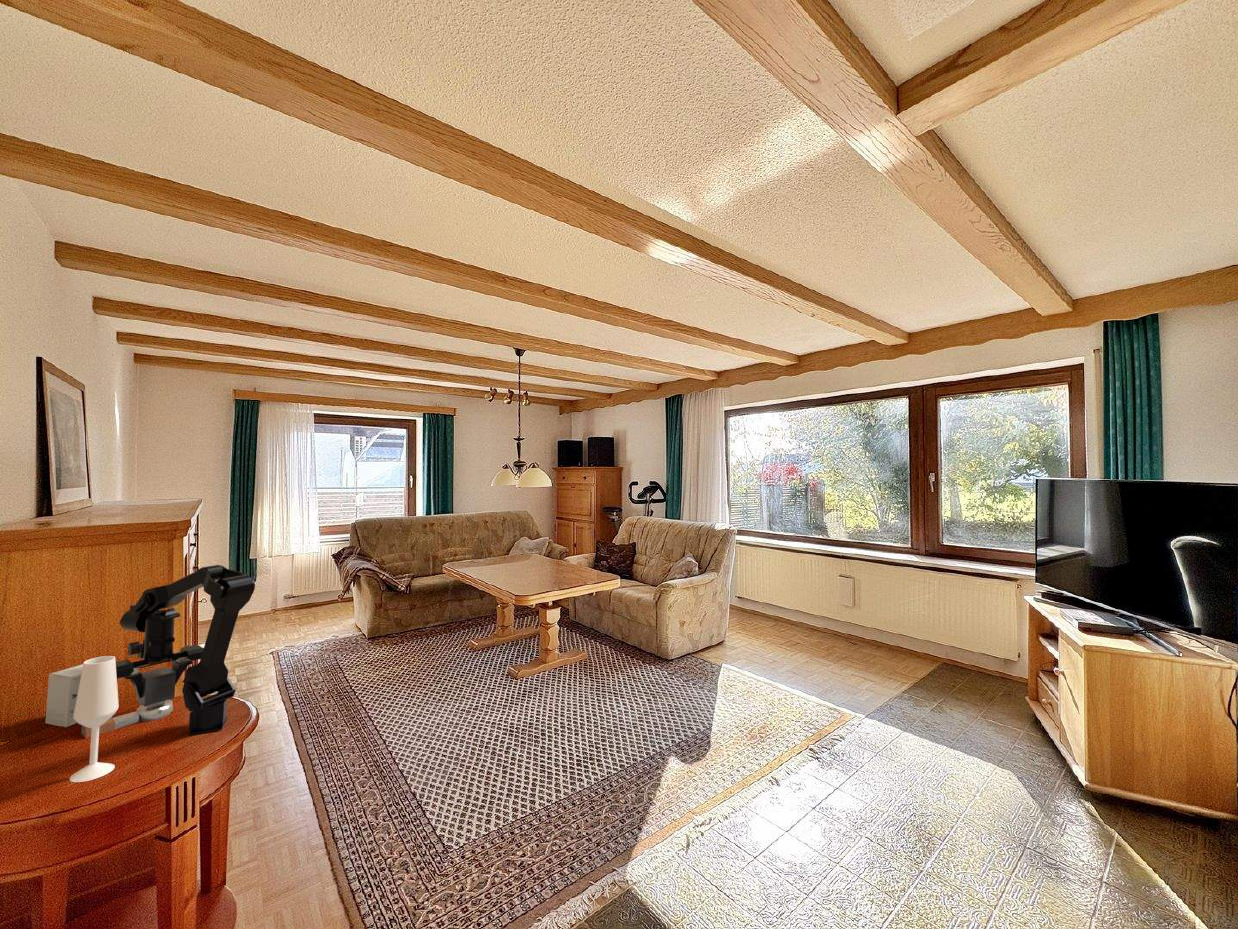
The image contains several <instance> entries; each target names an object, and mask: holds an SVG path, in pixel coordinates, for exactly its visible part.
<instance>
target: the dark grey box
mask: <svg viewBox="0 0 1238 929" xmlns="http://www.w3.org/2000/svg"><path fill="white" fill-rule="evenodd" d="M140 673H141V674H142V697H141V698H138V696H137V695H136V701H137V702H138V703H139V704H141V705H143V706H148V705H152V704H155V703H159V702H162V701H166V700H172V699H176V698H175V695H176V694H175V693H176V685H175V681H176V671H174V670H173V669H172V667H170V666H163V667H159V668H155V669H151V670H147V671H146V670H145V671H142V672H140Z"/></svg>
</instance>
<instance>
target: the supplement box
mask: <svg viewBox="0 0 1238 929" xmlns="http://www.w3.org/2000/svg"><path fill="white" fill-rule="evenodd" d="M82 669H83V663H82V664H79V665H76V666H72V667H70V668H69V667H68V668H66V669H65V668H64V669H61V670H58V671H54V672H51V673H49V674H48V684H47V685H48V686H47V697H46V710H45V712H46V713H45V724H48V725H52V726H57V727H62V726H63V728H68V727H70V726H73V725H75V724H78V723H77V722H76V721H75V719H74V717H73V716H74V710H75V705H76V700H77V695H78V690H79V684H80V679H81V674H82Z"/></svg>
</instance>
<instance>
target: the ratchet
mask: <svg viewBox="0 0 1238 929" xmlns="http://www.w3.org/2000/svg"><path fill="white" fill-rule="evenodd" d="M173 703H174V702H173V700H172V699H169V700H166V701H162V702H159V703H155V704H152V705H148V706H143V705H142V704H141V705H139V706H138V707H137V708H136V711H133V712H129V713H124V714H121V715H118V716H114V717H113V716H112V717H111V718H110V719H109V720H107V721H106V722H105V723H104V724H103V725H101V726H99V735H101V734H105V733H108V732H111V731H115V730H118V729H120V728H123V727H128V726H130V725H135V724H137V723H139V722H144V723H145V722H151V721H156V719H157V720H160V719H159V718H161V719H163V718H166V717H167V715H168V716H169V715H171V714H172V713H173V709H174V708H173V707H174V704H173ZM171 712H172V713H171ZM170 713H171V714H170ZM91 730H92V728H87V727H85V726H83V725H81V731H80V732H81V733H80V734H81V735H82V736H83V738H84V739H89V738H91Z"/></svg>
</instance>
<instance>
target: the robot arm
mask: <svg viewBox="0 0 1238 929" xmlns="http://www.w3.org/2000/svg"><path fill="white" fill-rule="evenodd" d="M202 588H203V592H204V593H205V594H207V595H209V596H210V598H209V599H210V600H209V601H210V603H211V605H212V608H214V609H213V610H214V611H213V615H212V619H211V622H210V626H209V629H208V633H207V635H206V639H205V641H204V646H203V647H202V646H201V645H199V644H192V645H188V646H183V647H180V650H179V651H178V652H174V643H175V642H176V641H175V640H176V638H175V621H176V620H175V619H176V618H180V617H181V614H180V612H178V611H177V610H176V609H175V608H174V606H177V605H179V604H180V603H181V602H183V601H184V600H185V599H186V596H187V595H188V594H191V593H192V592H195V591H197V590H199V589H202ZM255 588H256V584H255V580H254V579H253V578H252V577H251V576H250V575H249V574H245V573H243V572H241V571H237V570H235V569H229V568H227V567H225V566H223V565H219V564H214V565H207V566H202V567H200V568H198V569H197V570H196V571H193V572H191V573H190V574H187V575H185V576H183V577H182V578H179V579H178V580H175V581H174V582H171V583H169V584H165V585H160V586H155V587H152V588H151V587H150V588H147V589H145V590H144V591H143V592H142V594H141V596H140V597H139V599H138V601H137V602H136V604H132V605H131V604H130V606H129V610H127V611H126V612H124V614H123V615H122V616H121V618H120V619H119V624H120V627H121V628H122V629H124V630H127V631H133V632H139V633H144V637H143V640H142V643H140V641H135V642H134V641H133V642H128V644H127V655H128V656H134V655H136V656H137V658H139V659H142V660H137V661H133V662H132V661H131V660H130V659H122V660H117V661H116V675H117V680H118V679H122V678H124V680H130V682H131V683H132V686H133V688H134V690H135V693H136V697H137V696H138V698H141V697H142V674H141V673H142V672H140V669H143V668H147V667H151V666H157V665H159V664H165V663H168V662H171V669H173V670H174V671H176V681H175V686H177V683H178V682H179V680H180V678H181V676H183V673H184V672H185V676H184V678H183V680H182V683H183V686H182V690H181V692H182V696H183V701H184V706H185V709H187V710H188V712H189V718H188V719H189V720H188V730H190V731H189V733H188V735H190V736H191V735H198V734H203V733H210V732H211V733H212V732H216V731H221V730H223V728H224V727H225V724H226V722H227V721H228V716H227V703H228V702H227V700H228V699H230V698H234V696H235V694H236V691H237V690H236V687H235V686H234V685H233V683H232V681H231V679H230V678H229V669H228V667H227V665H226V663H225V660H226V657H227V653H228V650H229V645H230V643H231V639H232V636H233V633H234V630H235V627H236V623H237V620H238V615H239V613H240V611H241V610H243V608H244V607H245V606H246V605H247V604H248V603H249V601H251V597H252V595H253V594H254V592H255ZM171 607H173V608H171ZM197 660H199V662H198V663H197V664H194V665H192V664H193V662H194V661H197ZM189 665H191V666H189Z"/></svg>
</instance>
